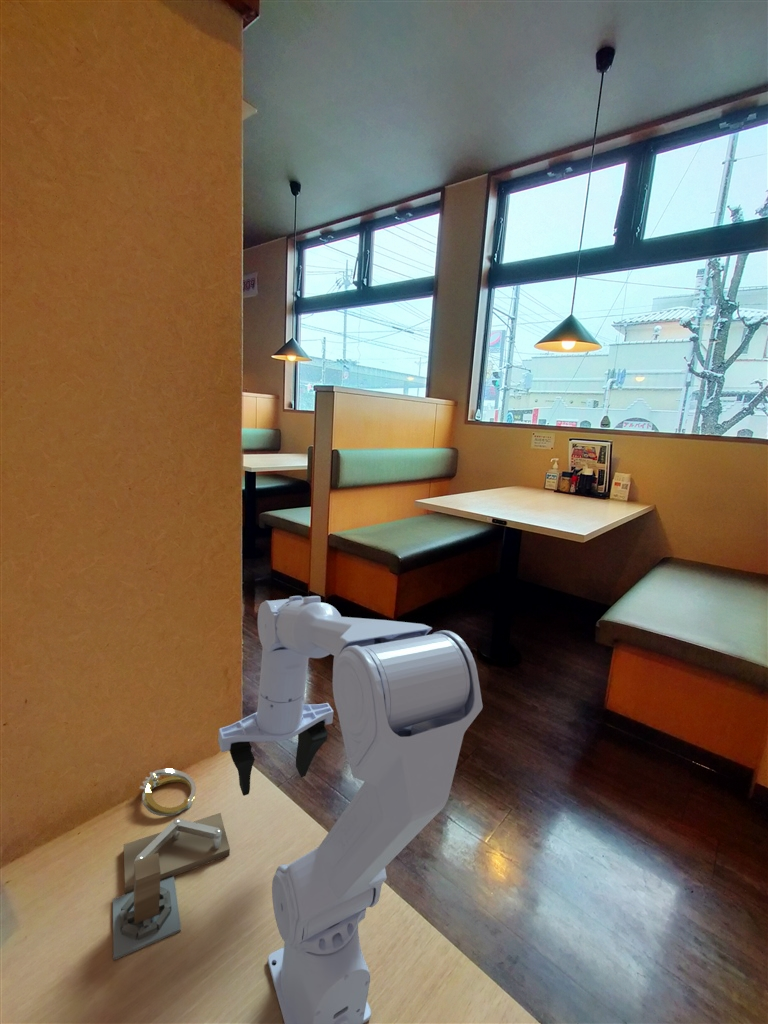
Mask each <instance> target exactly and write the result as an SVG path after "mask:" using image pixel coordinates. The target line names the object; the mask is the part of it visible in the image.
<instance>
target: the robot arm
mask: <svg viewBox="0 0 768 1024" xmlns="http://www.w3.org/2000/svg"><path fill="white" fill-rule="evenodd" d="M321 601H322V599H321V596H319V595H311V596H302V595H293V596H289V598H285V599H284V598H283V599H276V600H275V599H274V600H266V599H265V600H264V601H262V602H261V603H260V604H259V607H258V612H257V632H258V639H259V641H260V644H261V646H262V650H261V652H262V653H261V663H260V675H259V676H260V677H259V684H258V686H259V687H258V696H257V698H258V700H257V709H256V712H254V713H252V714H250V715H248V716H246V717H244V718H241V719H240V720H238V721H236V722H234V723H232V724H229V725H227V726H223V727H220V728H218V740H217V742H218V746H219V750H220V752H221V753H224V752H229V753H230V757H231V759H232V762H233V764H234V766H235V768H236V770H237V772H238V773H237V774H238V782H239V788H240V790H241V793H242V796H248V795H250V791H251V775H252V770H253V766H254V763H255V760H256V759H255V757H254V754H253V752H252V745H251V743H252V742H283V741H287V740H290V739H293V738H294V737H296V736H297V739H298V740H297V747H296V755H295V768H296V770H297V772H298V774H299V776H300V778H303V777H306V775H307V773H308V771H309V769H310V766H311V763H312V762H313V760H314V757H316V754H317V752H318V751H319V750H320V748H321V747H322V746H323V744H325V743H326V742H327V740H328V734H329V733H328V732H329V731H328V730H327V728H326V726H327V725H331V724H333V718H334V711H335V710H336V712H337V716H338V721H339V725H340V730H341V735H342V740H343V745H344V750H345V755H346V758H347V760H348V762H349V763H348V764H349V767H350V768H349V769H350V772H351V773H350V774H351V775H352V778H354V779H357V780H359V781H362V782H363V783H362V785H361V786H360V787H359V789H358V791H357V792H355V794H354V796H353V797H352V798H351V800H350V801H349V803H348V805H347V806H346V807H345V809H344V810H343V812H342V813H341V815H340V816H339V817H338V819H337V820H336V821H335V823H334V824H333V826H332V827H331V828H330V829H329V832H328V833H327V835H326V836H325V837H324V838H323V840H322V842H321V843H320V844H319V846H318V847H316V848H314V849H313V850H311V851H309V852H308V853H306V854H305V855H302V856H301V857H299V858H297V859H296V860H294V861H293V862H291V863H288V864H285V863H284V864H280V865H279V866H278V867H277V868H276V870H275V873H274V875H273V878H272V883H271V884H272V886H271V895H272V897H271V898H272V899H271V900H272V906H273V907H272V908H273V913H274V919H275V922H276V925H277V930H278V932H279V935H280V936H281V939H282V940H283V942H284V945H283V947H281V948H279V949H277V950H275V951H273V952H271V953H269V955H268V957H267V964H268V967H269V971H270V974H271V979H272V982H273V986H274V989H275V993H276V997H277V1001H278V1004H279V1007H280V1011H281V1014H282V1018H283V1022H284V1024H365V1023H367V1022H368V1021H369V1020H370V1019H371V1017H372V1009H371V1007H370V1004H369V1002H368V995H369V988H370V983H371V973H370V969H369V967H368V964H367V963H366V960H365V957H364V953H363V951H362V947H361V943H360V936H359V924H360V923H361V921H363V920H364V919H365V918H366V913H367V908H373V907H374V906H376V905H377V904H378V903H379V899H380V897H381V890H382V886H383V884H384V882H385V881H386V880H387V878H388V877H387V872H386V871H387V870H386V867H387V866H388V865H389V864H390V863H391V862H392V861H393V860H394V859H395V858H396V857H397V856H398V855H399V853H401V852H402V850H403V849H405V847H407V845H408V844H409V843H410V842H412V840H414V838H415V837H417V836H418V835H419V833H421V831H422V830H423V829H424V828H425V827H426V826H427V825H428V824H429V823H431V821H432V820H433V819H434V818H435V817H436V816H437V815H438V814H439V813H440V812H441V811H442V810H443V809H444V807H445V806H446V804H447V802H448V801H449V796H450V793H451V789H452V786H453V780H454V777H455V772H456V768H457V765H458V760H459V755H460V752H461V747H462V745H463V740H464V735H465V733H466V731H467V730H468V728H469V727H470V725H472V724H473V722H474V720H475V719H476V718H477V716H478V715H479V714H480V713H481V711H482V710H483V707H484V706H483V705H484V704H483V701H482V693H481V687H480V681H479V674H478V669H477V664H476V661H475V658H474V657H473V653H472V652H471V649H470V648H469V646H468V645H467V644H466V641H464V639H463V638H461V637H460V635H458V634H457V633H455V632H453V631H451V630H447V629H446V630H444V629H443V630H439V631H435V632H433V633H432V634H428V633H429V632H431V630H433V627H432V626H429V625H426V624H425V623H418V622H417V623H416V622H407V621H406V622H405V621H397V620H389V619H388V620H387V619H377V618H376V619H375V618H362V617H351V616H349V617H348V616H342V615H341V613H340V612H339V611H338V610H337V608H336V607H335V606H333V605H331V604H329V603H326V602H321ZM329 655H332V656H333V662H332V663H333V665H332V695H333V701H334V705H335V708H336V709H335V710H333V708H332V707H331V705H330V704H329V702H326V703H319V704H317V703H316V704H313V703H312V704H309V703H306V704H304V703H305V695H306V687H307V686H306V685H307V677H308V667H309V659H310V658H311V659H322V658H325V657H327V656H329ZM274 964H275V965H274Z"/></svg>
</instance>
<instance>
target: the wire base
mask: <svg viewBox="0 0 768 1024" xmlns="http://www.w3.org/2000/svg"><path fill="white" fill-rule="evenodd" d="M223 821H224V820H223V818H222V812H218V813H216V814H213V815H210V816H206V817H203V818H201V819H197V820H195V821H193V822H195V823H200V824H204V825H208V826H212V827H217V828H220V830H221V831H222V835H221V846H220V848H219V849H218V850H213V848H212V846H213V839H210V838H206V837H202V836H197V835H193V834H189V833H185V832H181V831H180V838H179V839H178V840H172V836H171V837H170V838H169V839H168V840H167V841H166V842H165V843H164V844H163V845H162V846H161V847H160V848H159V849H158V850H157V851H156V852H155V853H154V854H156V853H159V862H160V871H161V872H160V881H162V880H165V879H167V878H170V877H173V876H174V877H175V876H178V875H180V874H184V873H185V872H187V871H190V870H193V869H197V868H199V867H201V866H202V867H203V866H204V865H208V864H209V863H212V862H215V861H217V860H220V859H223V858H226V857H228V856H230V853H231V852H230V851H231V850H230V849H231V848H230V844H229V840H228V835H227V834H226V830H225V825H224V822H223ZM161 832H162V831H160V832H157V833H154V834H152V835H149V836H145V837H142V838H140V839H136V840H133V841H130V842H127V843H126V842H125V844H123V871H124V876H123V877H124V895H125V894H128V893H130V892H133V891H134V867H135V864H134V861H135V859H136V857H137V856H138V855H139V854H140V853H141V852H142V851H143V850H144V849H145V848H146V847H147V846H148V845H149V844H150V843H151V842H152V841H153V840H154V839H155V838H156V837H157V836H158V835H159V834H160V833H161Z"/></svg>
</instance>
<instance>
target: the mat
mask: <svg viewBox="0 0 768 1024" xmlns="http://www.w3.org/2000/svg"><path fill="white" fill-rule="evenodd" d="M160 887H163V888H165V889H168V892H170V898H171V906H172V908H171V914H170V915H169V917H168V918H167V920H166V921H165V923H164V924H163V926H162V927H161V928H160V930H158V929H157V932H156V933H154V934H152V935H149V936H147V937H145V938H142V939H140V940H138V938H137V939H136V940H133V939H131V938H129V937H127V936H125V935H122V932H120V911H121V908H122V907H123V905H124V904H125V903H126V902H127V900H128V899H129V898H130V897H131V895H132V894H133V893H134V891H133V892H130V893H128V894H125V893H124V894H122V895H120V896H118V897H115V898H112V930H113V931H112V939H113V940H112V946H113V948H112V949H113V950H112V951H113V958H112V959H113V961H115V960H117V959H120V958H123V957H125V956H126V955H128V954H131V953H134V952H137V951H138V950H141V949H143V948H145V947H147V946H150V945H152V944H154V943H157V942H158V941H161V940H163V939H165V938H168V937H170V936H172V935H175V934H177V933H179V932H181V931H182V927H181V919H180V918H181V917H180V911H179V904H178V897H177V889H176V881H175V876H173V877H170V878H167V879H165V880H162V881H160ZM159 900H162V899H160V898H159ZM163 910H164V909H163ZM163 910H161V911H159V914H158V915H156V916H153V917H151V918H150V919H151V923H153V922H155V921H156V920H157V918H158V917H159V915H160V914H161V912H162V911H163ZM131 911H134V906H133V907H132V909H131V910H130V911H129V912H131ZM129 924H131V925H133V926H136V927H138V928H141V927H143V921H141V922H139V923H136V924H135V921H134V922H132V923H129Z"/></svg>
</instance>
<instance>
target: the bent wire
mask: <svg viewBox="0 0 768 1024" xmlns="http://www.w3.org/2000/svg"><path fill="white" fill-rule="evenodd" d="M180 831H181V832H185V833H189V834H193V835H197V836H202V837H206V838H210V839H213V846H212V848H213V850H218V849H219V848H220V846H221V835H222V831H221V830H220V828H217V827H212V826H208V825H204V824H200V823H195V822H194V821H191V820H186V819H184V818H183V819H182V818H175V819H174V820H172V822H170V823H169V824H168V825H167V826H166V827H165V828H164V829H163V830H162V831H160V832H161V833H160V832H159V833H160V834H159V835H158V836H157V837H156V838H155V839H154V840H153V841H152V842H151V843H150V844H149V845H148V846H147V847H146V848H145V849H144V850H143V851H142V852H141V853H140V854H139V855H138V856H137V857H136V859H135V861H136V860H139V859H142V858H145V857H147V856H150V855H153V854H154V853H155V852H156V851H157V850H158V849H159V848H160V847H161V846H162V845H163V844H164V843H165V842H166V841H167V840H168V839H169V838H170V837H171V836H172V840H178V839H179V838H180ZM135 861H134V864H135Z"/></svg>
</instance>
